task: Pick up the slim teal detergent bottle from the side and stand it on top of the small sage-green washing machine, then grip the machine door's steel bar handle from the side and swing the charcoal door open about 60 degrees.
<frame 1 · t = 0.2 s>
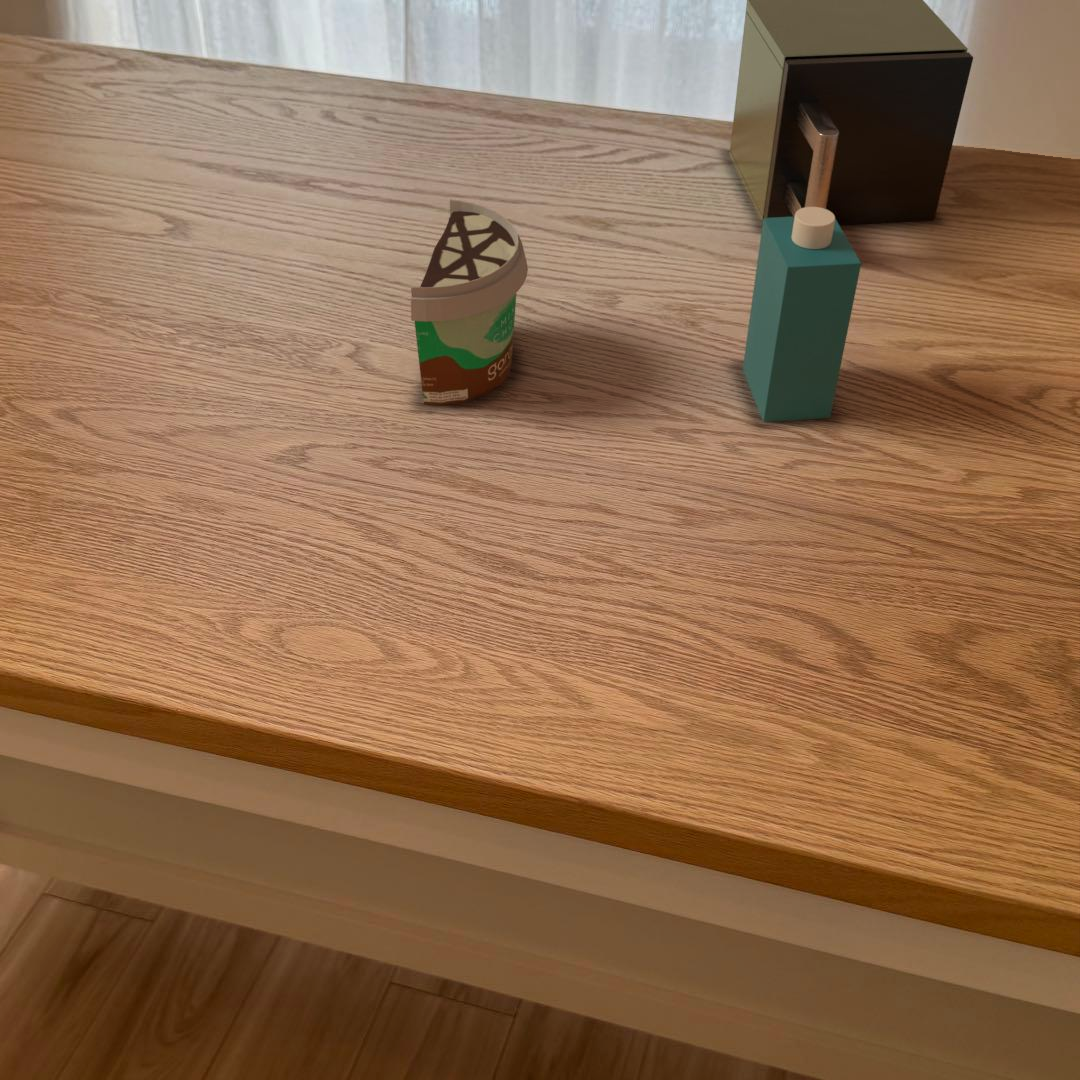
food container: (483, 376, 86), on the table
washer: (824, 189, 106), on the table
washer door: (874, 163, 94), point 7 cm above the table, hinge at 0.0°
detergent bottle: (784, 399, 84), on the table
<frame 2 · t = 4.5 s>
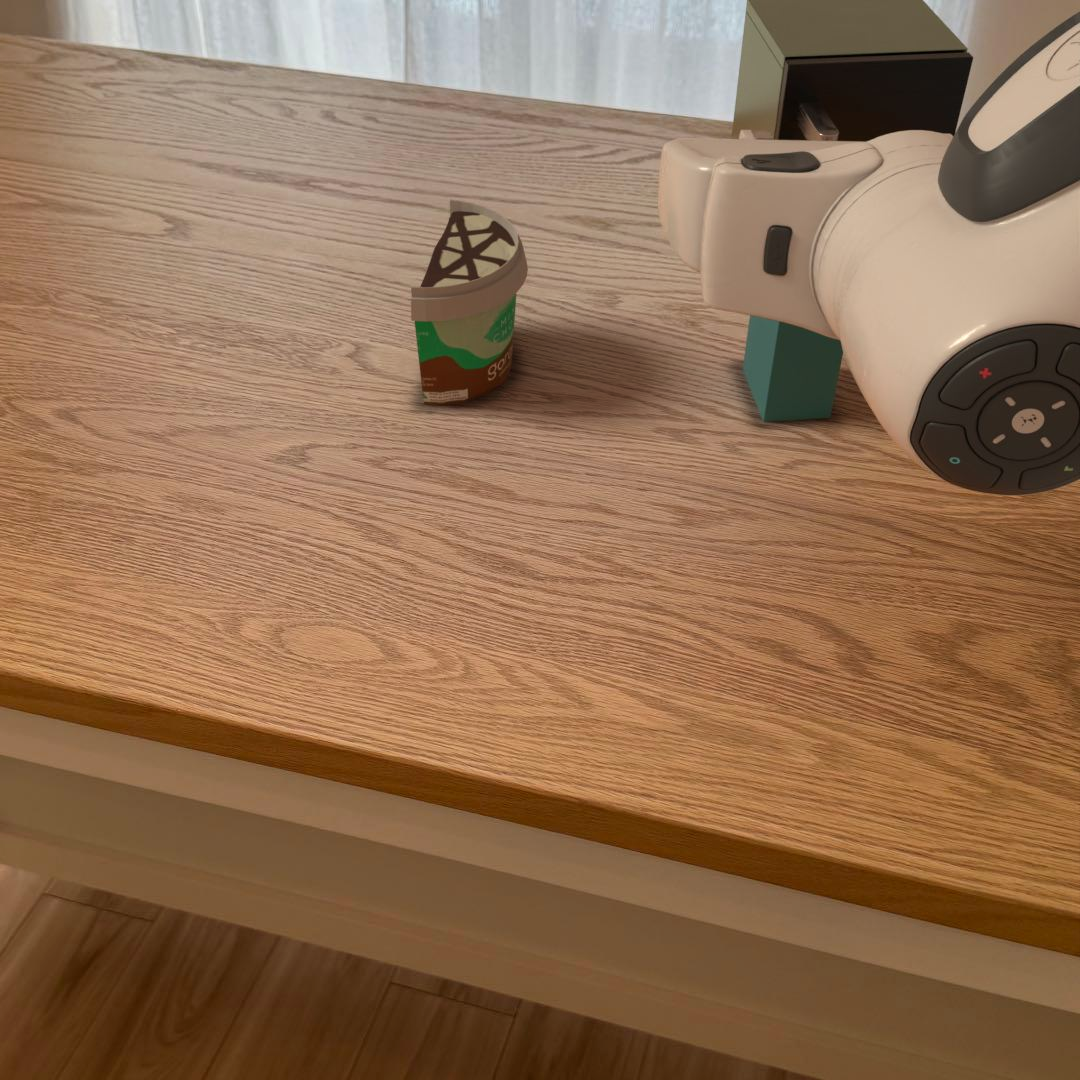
hand: (841, 146, 65), 21 cm above the table, tool horizontal, fingers open, 8 cm apart
nothing on the table moved.
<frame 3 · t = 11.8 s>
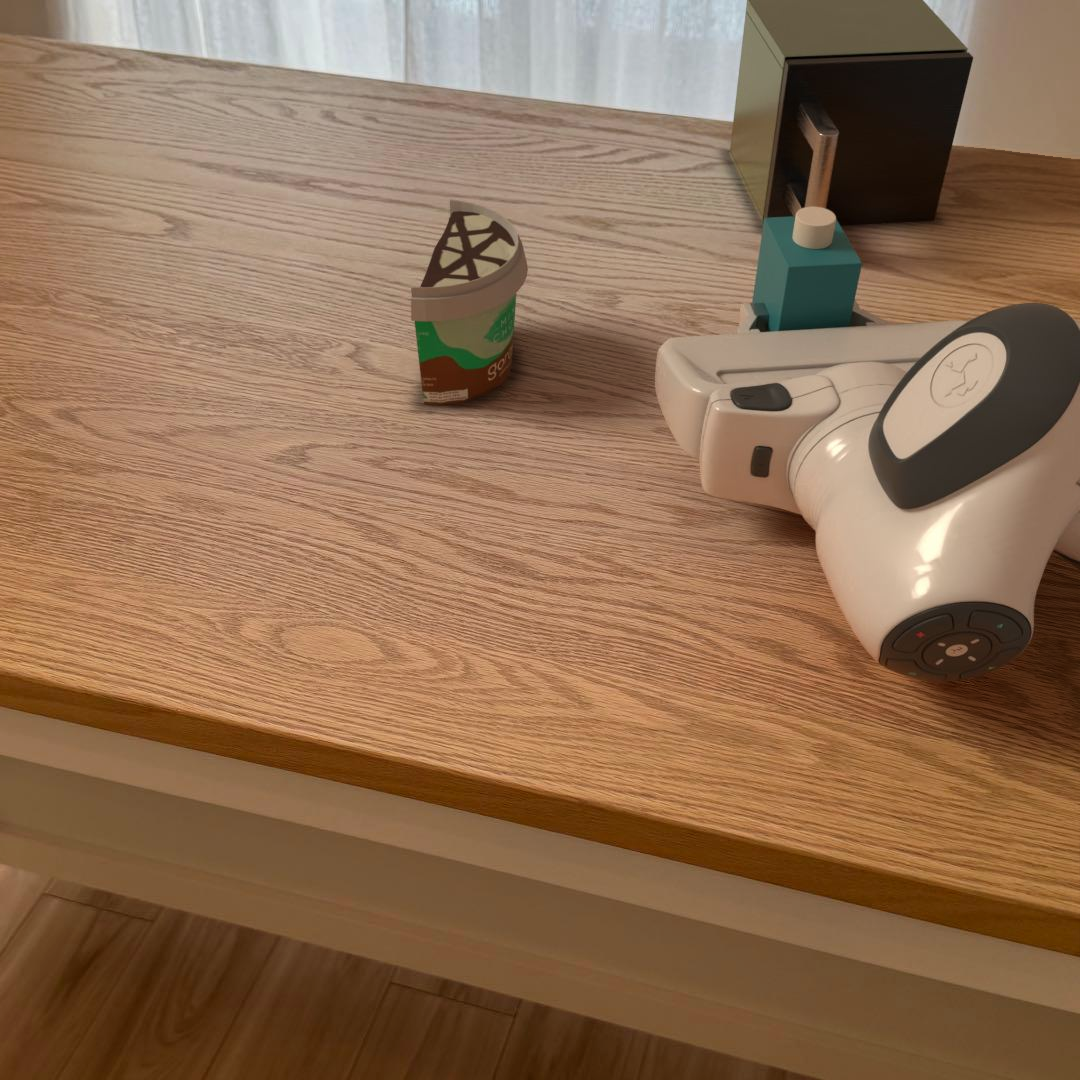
hand: (794, 309, 80), 7 cm above the table, tool horizontal, fingers closed on detergent bottle, 4 cm apart
detergent bottle: (784, 399, 84), on the table, touching gripper
everything else where it was.
when the fingers open (20 cm above the table, at t = 24.5 s): detergent bottle stays where it is, resting on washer.
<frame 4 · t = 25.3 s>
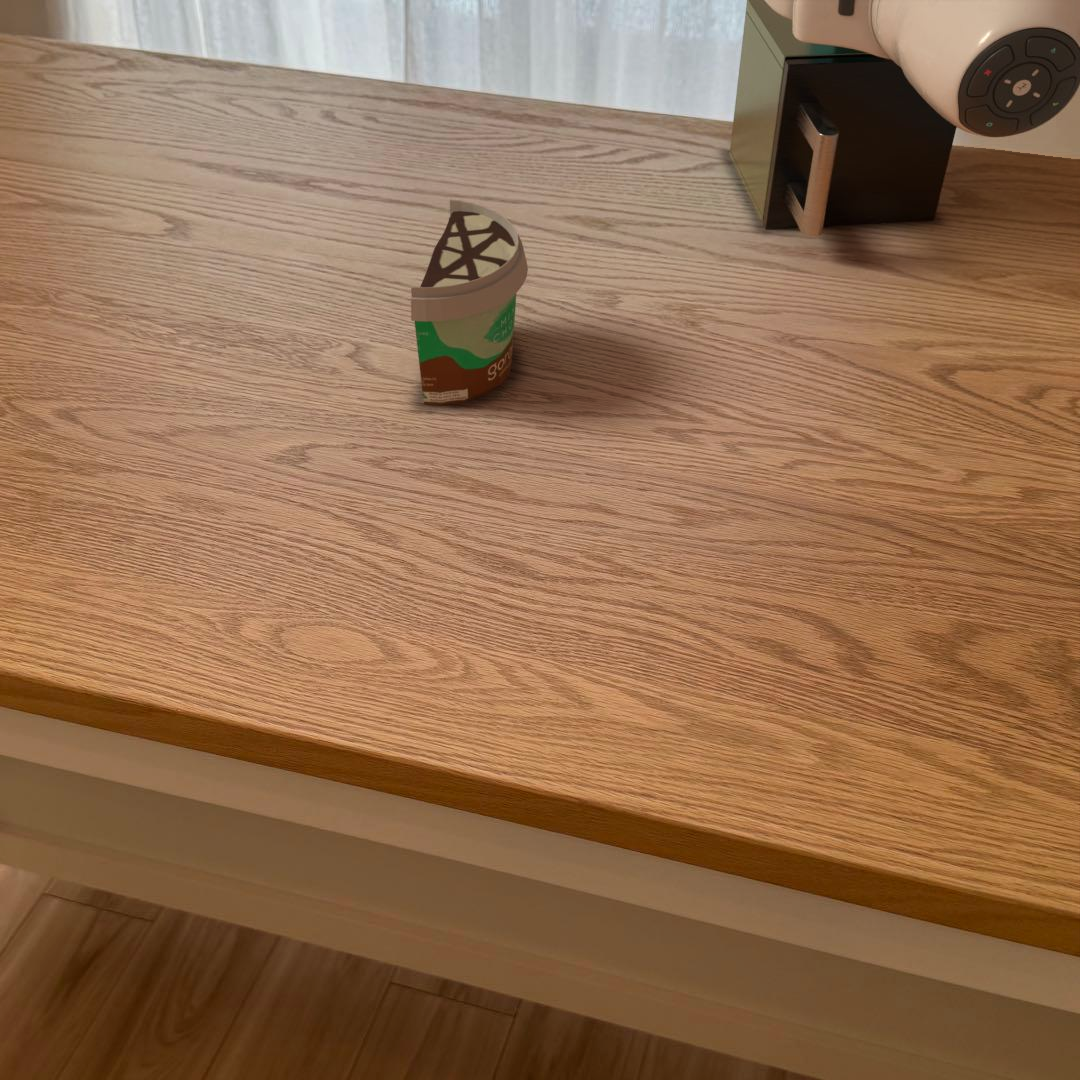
detergent bottle: (853, 22, 96), point 14 cm above the table, touching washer
everything else where it was.
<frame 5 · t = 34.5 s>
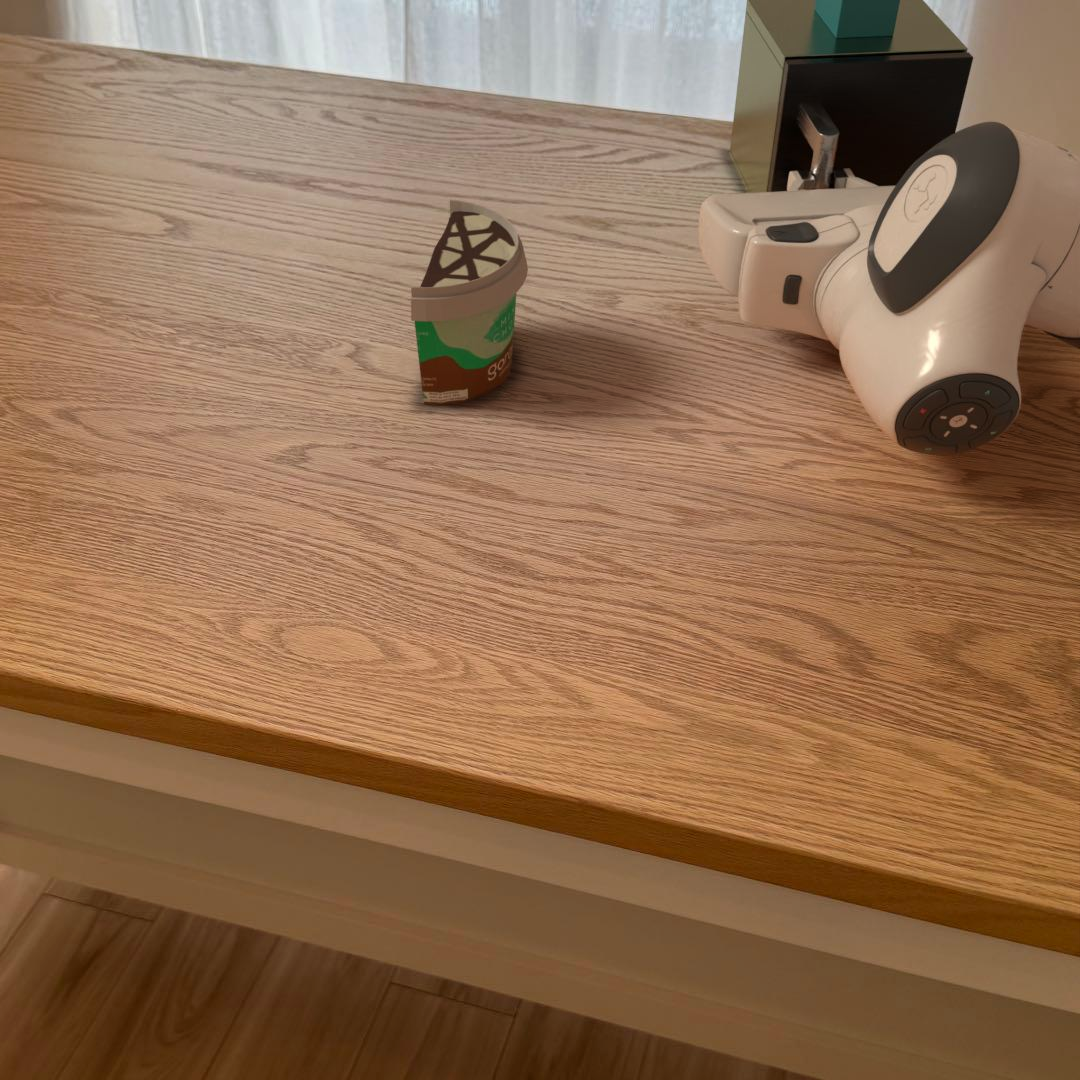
hand: (816, 178, 92), 7 cm above the table, tool horizontal, fingers closed on washer door, 2 cm apart
washer door: (874, 163, 94), point 7 cm above the table, hinge at 0.1°, touching gripper
everything else where it was.
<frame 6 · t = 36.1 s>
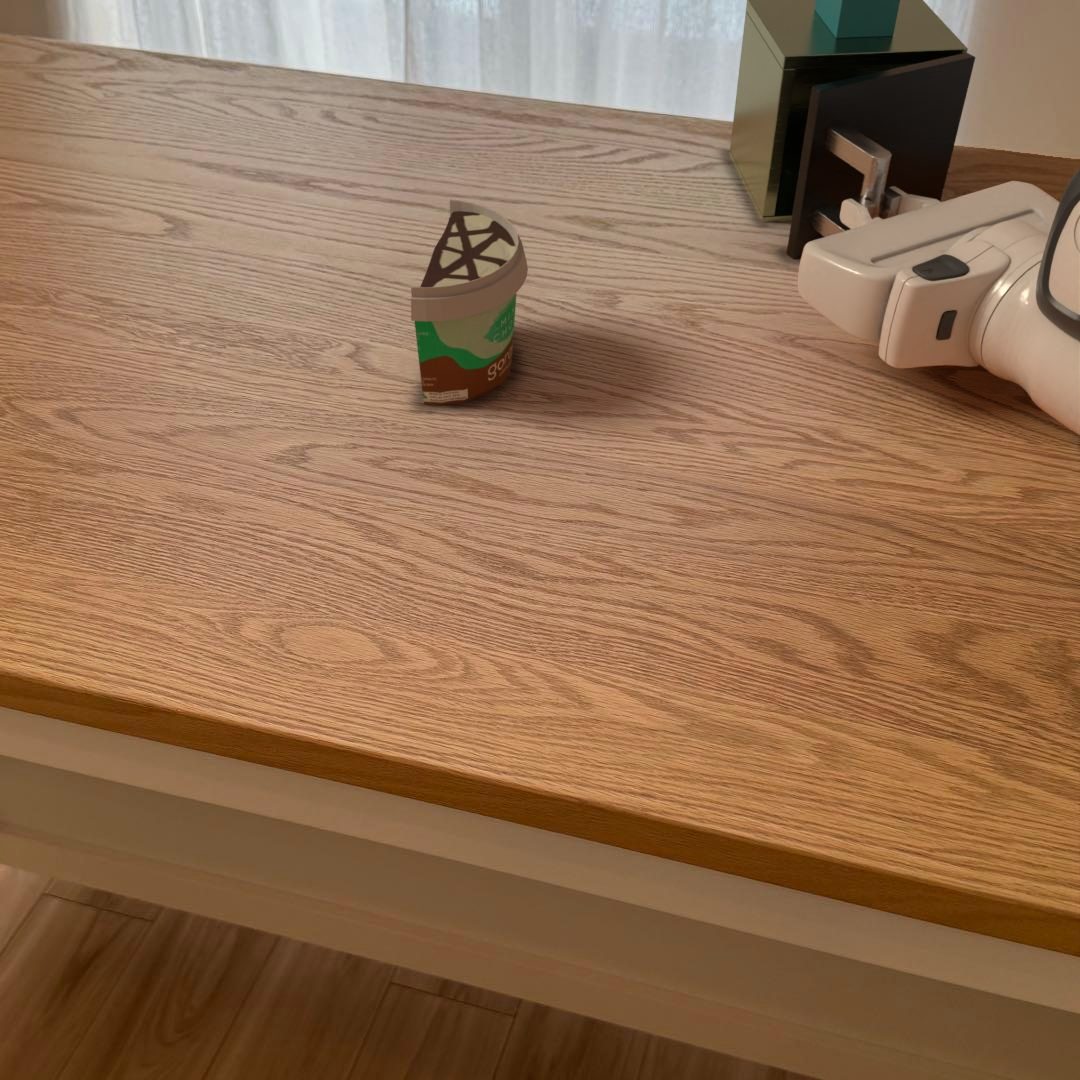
hand: (865, 202, 89), 7 cm above the table, tool horizontal, fingers closed on washer door, 2 cm apart
washer door: (902, 176, 92), point 7 cm above the table, hinge at 20.1°, touching gripper
everything else where it was.
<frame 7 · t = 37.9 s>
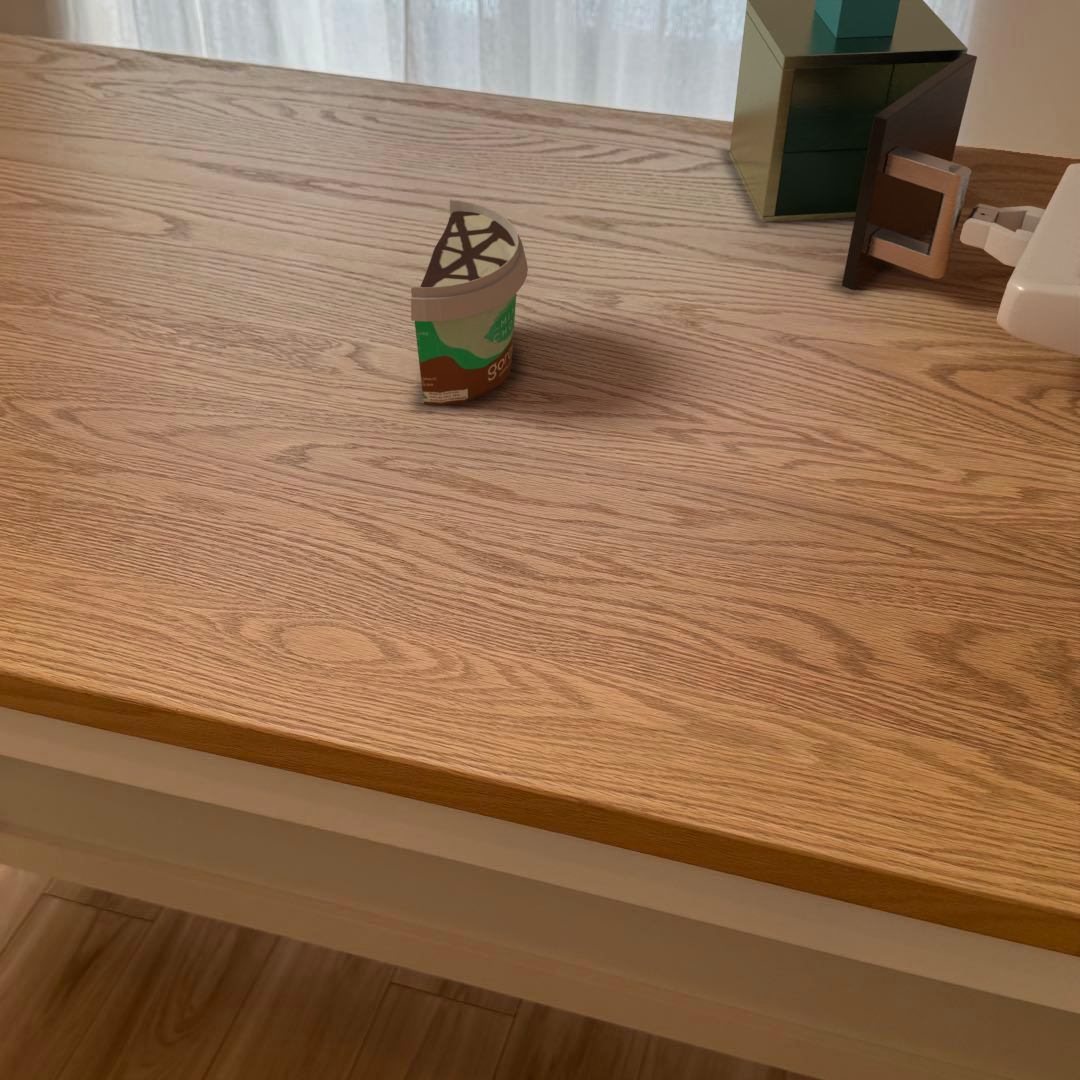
hand: (966, 222, 87), 7 cm above the table, tool horizontal, fingers closed
washer door: (944, 186, 91), point 7 cm above the table, hinge at 44.3°
everything else where it was.
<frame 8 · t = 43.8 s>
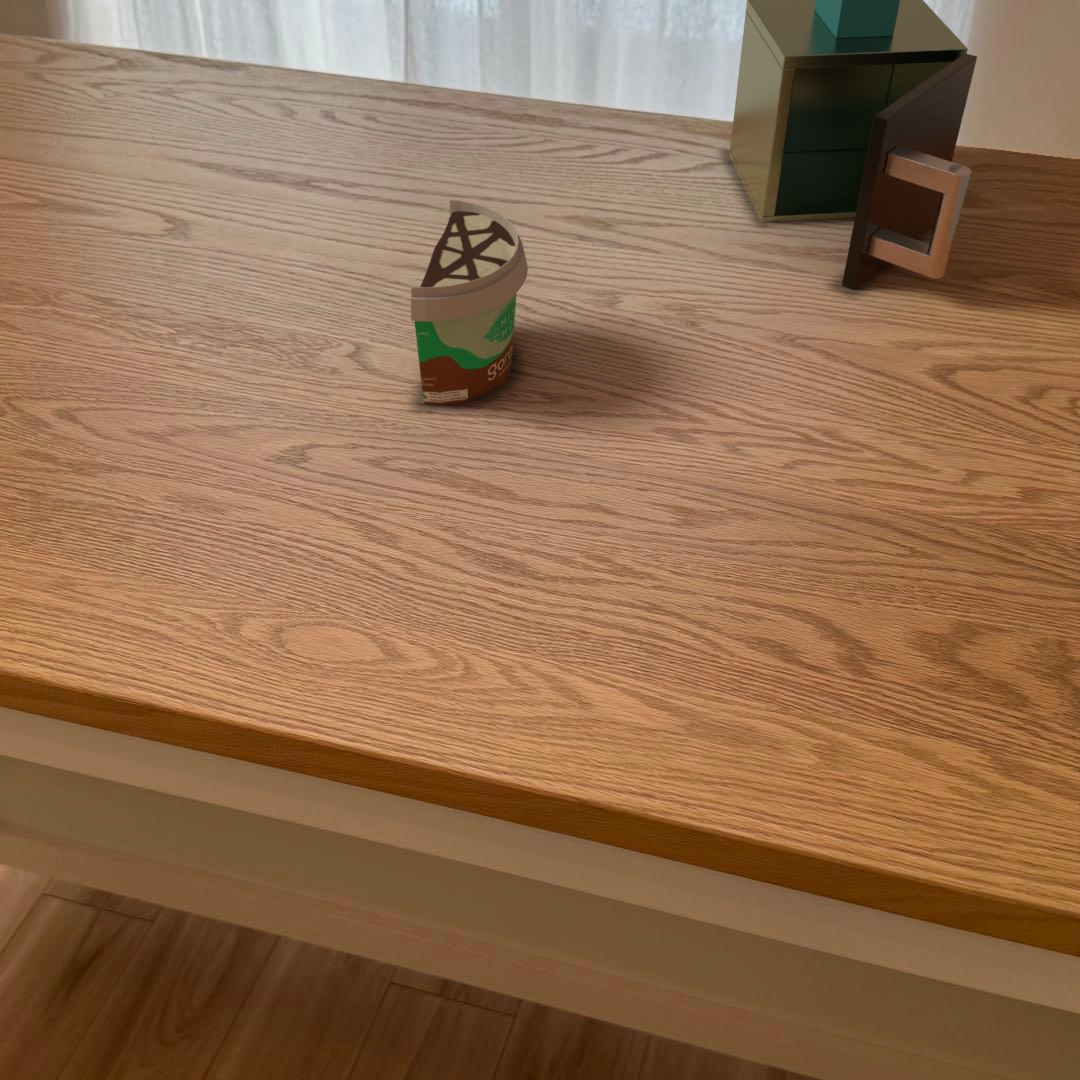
nothing on the table moved.
at the end: washer door at +44° (first picture: +0°); detergent bottle inside the target area on the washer (0.1 cm from its centre), point 14.0 cm above the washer's base; detergent bottle tilted 0° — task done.
